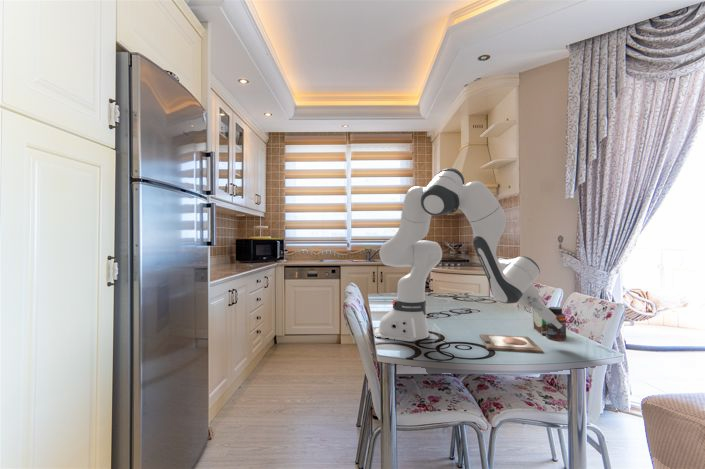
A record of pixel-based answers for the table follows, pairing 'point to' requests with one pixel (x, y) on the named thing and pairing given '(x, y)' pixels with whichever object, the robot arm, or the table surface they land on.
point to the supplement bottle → (552, 330)
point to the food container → (539, 323)
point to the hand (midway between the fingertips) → (557, 324)
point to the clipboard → (510, 343)
